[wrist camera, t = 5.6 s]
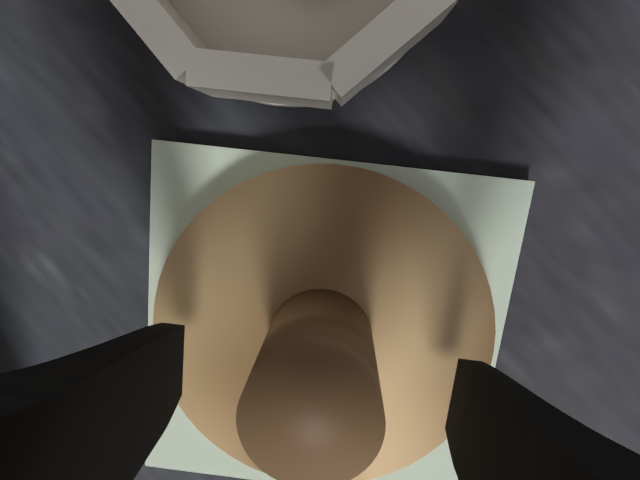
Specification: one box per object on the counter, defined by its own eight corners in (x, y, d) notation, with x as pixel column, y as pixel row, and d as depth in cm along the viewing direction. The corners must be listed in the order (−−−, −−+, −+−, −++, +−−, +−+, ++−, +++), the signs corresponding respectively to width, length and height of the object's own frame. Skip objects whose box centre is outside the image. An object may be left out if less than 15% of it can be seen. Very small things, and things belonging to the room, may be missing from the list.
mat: (528, 180, 12) (535, 181, 12) (461, 497, 15) (464, 507, 14) (157, 140, 13) (151, 139, 12) (150, 457, 15) (145, 465, 14)
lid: (512, 178, 12) (623, 195, 7) (460, 481, 14) (519, 648, 9) (164, 149, 12) (52, 148, 8) (164, 449, 14) (77, 594, 10)
